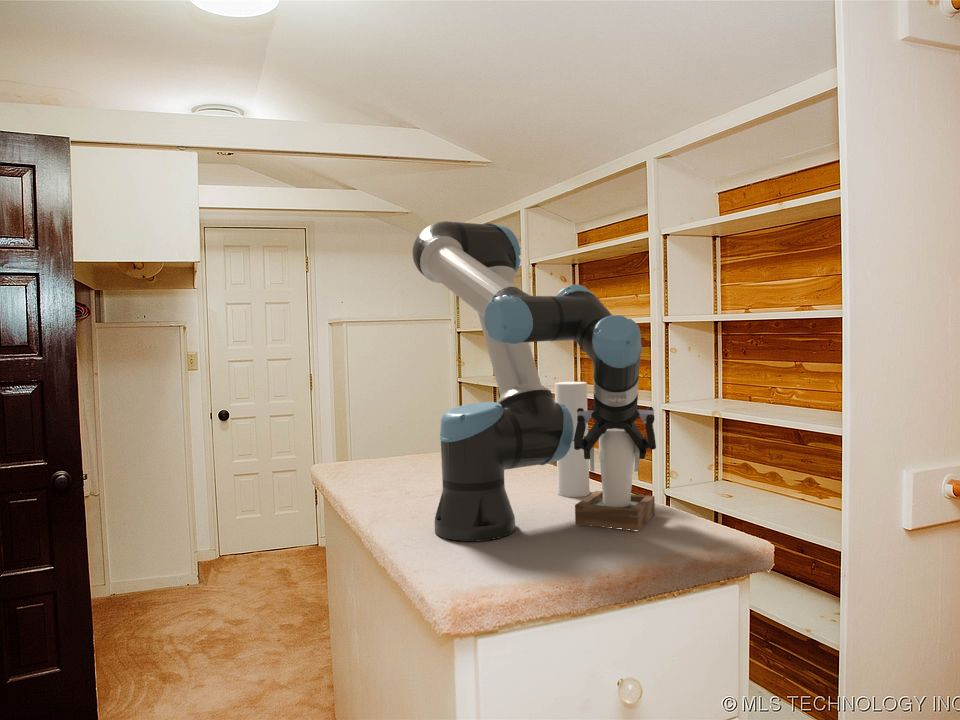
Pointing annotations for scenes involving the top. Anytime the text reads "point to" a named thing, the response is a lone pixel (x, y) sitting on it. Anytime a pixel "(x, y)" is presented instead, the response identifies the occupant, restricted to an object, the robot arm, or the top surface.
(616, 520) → the wooden tray
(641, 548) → the top surface
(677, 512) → the top surface
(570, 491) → the cylindrical container
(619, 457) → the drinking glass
